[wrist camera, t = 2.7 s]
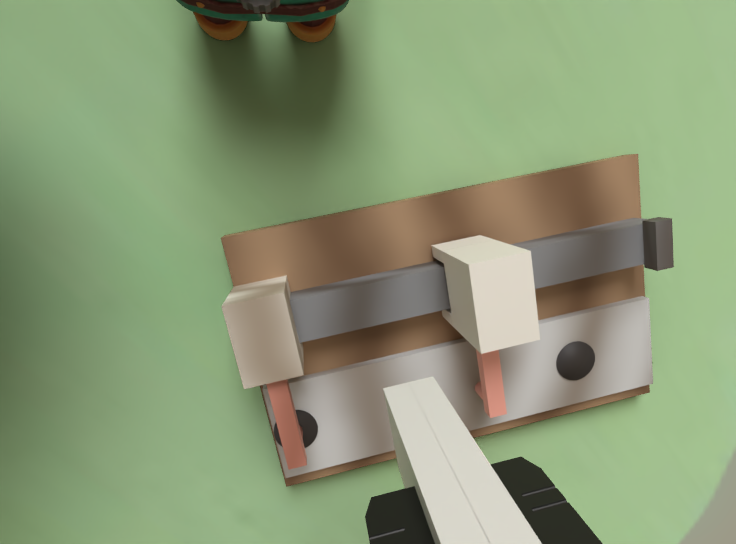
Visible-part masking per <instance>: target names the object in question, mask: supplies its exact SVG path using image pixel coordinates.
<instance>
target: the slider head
mask: <svg viewBox="0 0 736 544" xmlns="http://www.w3.org/2000/svg"><path fill="white" fill-rule="evenodd" d="M431 246H432V253H433V257H434V258H436V259H437V260H439V261H441V262H442V263H444V268H445V274H446V281H447V287H448V294H449V301H450V307H451V308H450V309H446V310H442V316H443V317H444V318H445V319H446V320H447V321H448V322H449V323H450V324H451V325H452V326H453V327H454V328H455V329H456V330H457V331H458V332H459V333H460V334H461V335H462V336H463V337H464V338H465V339H466V340H467V341H468V342H469V343H470V344H471V345H472V346H473V347H474V348H475V349H476V353H477V360H478V367H479V374H480V381H481V382H478V383H477V384H476V385H475V391H476V392H477V394H478V395H479V396H480V397H481V398H482V400H483V403H484V410H485V412H486V413H487V415H488V416H489V417H490V418H493V417H497V416H501V415H505V414H507V410H506V403H505V395H504V387H503V380H502V372H501V364H500V356H499V349H504V348H508V347H512V346H516V345H520V344H524V343H528V342H533V341H537V340H540V332H539V323H538V314H537V304H536V295H535V285H534V276H533V267H532V257H531V251H529V250H526V249H523V248H520V247H517V246H513V245H510V244H507V243H504V242H501V241H498V240H494V239H491V238H488V237H485V236H482V235H478V236H473V237H469V238H464V239H459V240H454V241H450V242H445V243H440V244H436V245H431Z"/></svg>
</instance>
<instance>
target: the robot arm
mask: <svg viewBox="0 0 736 544" xmlns="http://www.w3.org/2000/svg"><path fill="white" fill-rule="evenodd" d="M383 391H384V396H385V401H386V406H387V411H388V416H389V421H390V426H391V431H392V437H393V442H394V447H395V452H396V457H397V462H398V467H399V471H400V474H401V478H402V481H403V484H404V487H405V489H401V490H398V491H394V492H390V493H386V494H382V495H379V496H375V497H371V500H370V503H369V506H368V509H367V513H366V516H365V518H366V524H367V530H368V535H369V541H370V544H602V543H601V541H600V540H599V539H598V538H597V536H596V535H595V534H594V533H593V532H592V530H591V529H590V528H589V527H588V525H587V524H586V523H585V522H584V521H583V519H582V518H581V517H580V516H579V514H578V513H577V512H576V511H575V510H574V508H573V507H572V506H571V505H570V503H567V501H566V499H565V497H564V496H563V495H562V494H561V492H560V491H559V490H558V489H557V488H555V485H554V484H553V483H552V481H551V480H550V479H549V478H548V477H547V475H546V474H545V473H544V472H543V470H542V469H541V468H539V467H538V466H536V465H534V464H533V463H531V462H529V461H527V460H526V459H524V458H522V457H518V458H514V459H510V460H506V461H502V462H498V463H495V464H491V465H490V463H489V462H488V460H487V459H486V457H485V456H484V454H483V452H482V451H481V449H480V448H479V446H478V445H477V443H476V442H475V440H474V439H473V437H472V436H471V434H470V432H469V431H468V429H467V428H466V426H465V425H464V423H463V422H462V420H461V419H460V417H459V416H458V414H457V413H456V411H455V409H454V408H453V406H452V405H451V403H450V402H449V400H448V399H447V397H446V396H445V394H444V393H443V391H442V389H441V388H440V386H439V385H438V383H437V382H436V380H435V379H434V377H433V376H432V377H428V378H424V379H420V380H416V381H412V382H407V383H403V384H399V385H395V386H391V387H386V388H383Z"/></svg>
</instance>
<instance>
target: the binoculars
mask: <svg viewBox="0 0 736 544" xmlns="http://www.w3.org/2000/svg"><path fill="white" fill-rule="evenodd" d="M177 1H178V2H179V3H180V4H181V5H182V6H184V7H185V8H187V9H188V10H190V11H193V13H194V15H195V17H196V19H197V21H198V23H199V25H200V26H201V28H202V29H203V30H204V31H205V32H206V33H207V34H208V35H210V36H211V37H213V38H215V39H219V40H231V39H234V38H236V37H238V36H239V35H240V34H241V33H242V32H243V31H244V29H245V27H246V25H247V22H248V21H261V20H262V18H263V17H262V14H265V17H266V19H267V20H268V21H273V22H286V23H287V25H288V27H289V29H290V30H291V31H292V33H293V34H294V35H295V36H296V37H298V38H299V39H301V40H303V41H306V42H317V41H321V40H323V39H324V38H326V37H327V36H328V35H329V34H330V32H331V31H332V29H333V27H334V24H335V19H336V14H338V13H339V12H341V11H342V10H343V9H344V8H345V7H346V5H347V4H348V1H349V0H177Z"/></svg>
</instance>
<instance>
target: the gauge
mask: <svg viewBox="0 0 736 544" xmlns="http://www.w3.org/2000/svg"><path fill="white" fill-rule="evenodd" d="M478 235H482V236H485V237H488V238H491V239H494V240H498V241H501V242H504V243H507V244H510V245H513V246H517V247H520V248H523V249H526V250H529V251H531V257H532V267H533V276H534V285H535V295H536V304H537V314H538V323H539V332H540V340H537V341H533V342H528V343H524V344H520V345H516V346H512V347H508V348H504V349H499V356H500V364H501V372H502V380H503V387H504V395H505V403H506V410H507V414H505V415H501V416H497V417H493V418H490V417H489V416H488V415H487V413H486V412H485V410H484V403H483V400H482V398H481V397H480V396H479V395H478V394H477V392H476V391H475V385H476V384H477V383H478V382H481V381H480V374H479V367H478V360H477V353H476V349H475V348H474V347H473V346H472V345H471V344H470V343H469V342H468V341H467V340H466V339H465V338H464V337H463V336H462V335H461V334H460V333H459V332H458V331H457V330H456V329H455V328H454V327H453V326H452V325H451V324H450V323H449V322H448V321H447V320H446V319H445V318H444V317H443V316H442V310H446V309H450V308H451V307H450V301H449V294H448V287H447V281H446V274H445V268H444V263H442V262H441V261H439V260H437V259H436V258H434V257H433V253H432V246H431V245H436V244H440V243H445V242H450V241H454V240H459V239H464V238H469V237H473V236H478ZM221 240H222V244H223V248H224V252H225V256H226V259H227V263H228V267H229V271H230V274H231V278H232V282H233V286H234V287H233V289H232V290H231V292H230V293H229V295H228V297H227V298H226V300H225V301H224V303H223V304H222V310H223V314H224V317H225V321H226V325H227V328H228V332H229V336H230V339H231V343H232V347H233V350H234V354H235V358H236V361H237V365H238V369H239V372H240V376H241V380H242V383H243V387H244V389H247V388H252V387H256V386H260V388H261V392H262V396H263V400H264V403H265V407H266V411H267V415H268V418H269V422H270V426H271V430H272V434H273V437H274V441H275V445H276V449H277V453H278V456H279V460H280V464H281V468H282V472H283V475H284V479H285V483H286V487H287V486H291V485H294V484H298V483H302V482H306V481H310V480H314V479H317V478H321V477H325V476H329V475H333V474H337V473H341V472H344V471H348V470H352V469H356V468H360V467H364V466H368V465H371V464H375V463H379V462H383V461H387V460H391V459H395V458H397V457H396V452H395V447H394V442H393V437H392V431H391V426H390V421H389V416H388V411H387V406H386V401H385V396H384V391H383V388H386V387H391V386H395V385H399V384H403V383H407V382H412V381H416V380H420V379H424V378H428V377H432V376H433V377H434V379H435V380H436V382H437V383H438V385H439V386H440V388H441V389H442V391H443V393H444V394H445V396H446V397H447V399H448V400H449V402H450V403H451V405H452V406H453V408H454V409H455V411H456V413H457V414H458V416H459V417H460V419H461V420H462V422H463V423H464V425H465V426H466V428H467V429H468V431H469V432H470V434H471V436H472V437H473V438H475V437H479V436H483V435H487V434H491V433H495V432H498V431H502V430H506V429H510V428H514V427H518V426H522V425H525V424H529V423H533V422H537V421H541V420H545V419H549V418H552V417H556V416H560V415H564V414H568V413H572V412H576V411H579V410H583V409H587V408H591V407H595V406H599V405H602V404H606V403H610V402H614V401H618V400H622V399H626V398H629V397H633V396H637V395H641V394H645V393H649V392H650V390H649V384H653V374H652V353H651V331H650V310H649V298H647V297H645V288H644V267H643V264H644V265H645V268H649V269H653V270H657V271H659V270H663V269H667V268H672V267H674V265H673V235H672V219H670V218H661V217H657V218H652V219H641V206H640V185H639V165H638V154H631V155H622V156H617V157H612V158H607V159H602V160H597V161H592V162H587V163H582V164H577V165H572V166H567V167H562V168H557V169H552V170H547V171H542V172H537V173H532V174H527V175H522V176H517V177H512V178H507V179H502V180H497V181H492V182H487V183H482V184H477V185H472V186H467V187H463V188H458V189H453V190H448V191H443V192H438V193H433V194H428V195H423V196H418V197H413V198H408V199H403V200H398V201H393V202H388V203H383V204H378V205H373V206H368V207H363V208H358V209H353V210H348V211H343V212H338V213H333V214H328V215H323V216H318V217H313V218H308V219H304V220H299V221H294V222H289V223H284V224H279V225H274V226H269V227H264V228H259V229H254V230H249V231H244V232H239V233H234V234H229V235H224V236H223V237H222V238H221Z"/></svg>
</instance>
